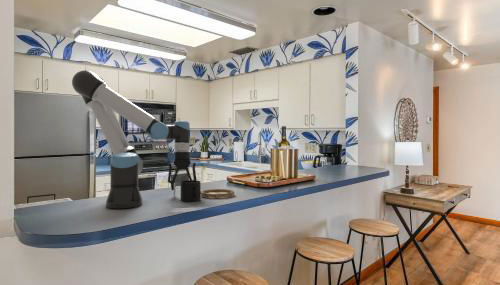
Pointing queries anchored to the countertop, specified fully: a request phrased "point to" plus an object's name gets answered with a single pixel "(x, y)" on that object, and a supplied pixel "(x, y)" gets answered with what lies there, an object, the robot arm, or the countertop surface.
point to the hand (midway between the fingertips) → (182, 196)
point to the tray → (217, 193)
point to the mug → (190, 191)
